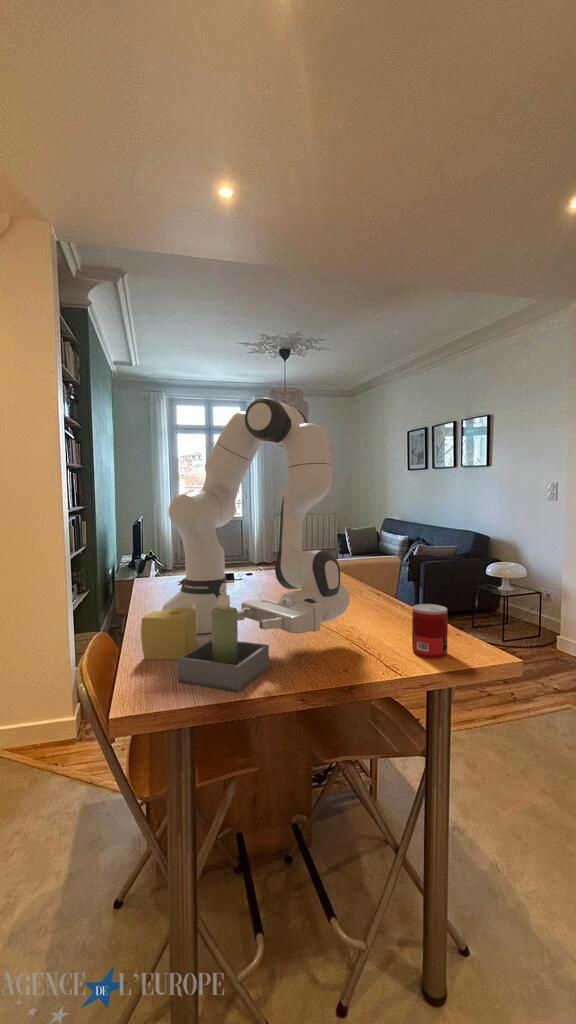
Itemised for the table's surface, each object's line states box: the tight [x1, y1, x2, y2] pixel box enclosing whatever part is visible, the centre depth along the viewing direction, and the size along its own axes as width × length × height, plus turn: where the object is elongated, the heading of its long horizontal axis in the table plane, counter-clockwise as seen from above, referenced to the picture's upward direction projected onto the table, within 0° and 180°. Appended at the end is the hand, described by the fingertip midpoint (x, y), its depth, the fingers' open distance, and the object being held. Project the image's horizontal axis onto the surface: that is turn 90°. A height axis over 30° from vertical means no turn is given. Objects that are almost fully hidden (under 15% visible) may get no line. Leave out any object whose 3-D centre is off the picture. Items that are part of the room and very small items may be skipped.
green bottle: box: [210, 594, 239, 665], centre depth 101 cm, size 6×6×16 cm
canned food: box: [411, 603, 449, 659], centre depth 113 cm, size 8×8×11 cm
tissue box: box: [140, 608, 198, 661], centre depth 114 cm, size 10×11×10 cm
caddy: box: [177, 638, 270, 693], centre depth 101 cm, size 14×14×5 cm
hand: (248, 620), depth 105 cm, fingers open, 8 cm apart
